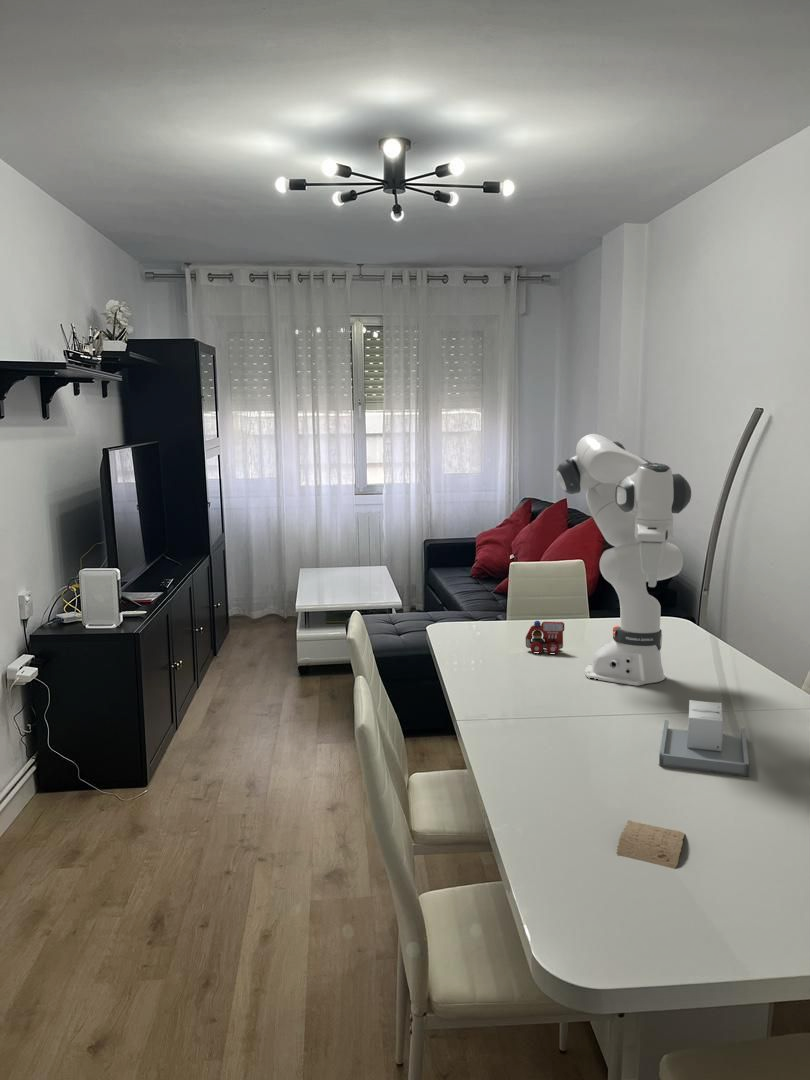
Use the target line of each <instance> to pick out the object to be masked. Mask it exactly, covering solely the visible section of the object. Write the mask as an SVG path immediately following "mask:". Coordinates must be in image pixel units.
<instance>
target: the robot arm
mask: <svg viewBox="0 0 810 1080" xmlns="http://www.w3.org/2000/svg"><path fill="white" fill-rule="evenodd" d="M575 448H576V449H575V453H576V455H574V456H572V457H570V458H567V459H565V460H563V461H562V462H561V463H560V464H558V466H557V468H556V478H557V479H556V480H557V482H558V485H559V486H560V487H561V488H562V489H563V491H564V492H565V493H567V494H569V495H573V494H574V495H575V494H579V493H581V492H582V491H586V490H587V491H586V494H585V501H586V504H587V508H588V510H589V512H590V515H591V516H592V519H593V520H594V523H595V525H596V526H597V528H598V529H599V531H600V532H601V534H602V536H603V538H604V540H605V541H606V542H607V543H608V544H609V545H610V546H613V547H611V548H608V549H606V550H604V551H603V552H602V555H601V557H599V563H598V564H599V571H600V574H601V575H602V577H603V578H604V580H606V581H607V582H608V583H609V584H611V586H612V587H613V588H614V590H615V592H616V594H617V597H618V600H619V608H620V609H619V611H620V615H619V616H620V618H619V619H620V625H614V626H613V627H612V640H610V641H609V642H607V643H606V644H605V645H603V646H602V647H600V648H599V649H597V650H596V652H595V654H594V655H593V660H592V663H590V664H588V665H587V666H586V667H585V670H584V676H585V675H586V676H587V677H588V679H590V678H594V679H593V680H596V679H598V681H603V682H604V681H606V682H609V683H618V684H624V685H629V686H643V685H645V684H646V685H647V684H654V683H658V682H662V681H663V680H665V679H666V678H665V673H664V669H663V663H662V656H661V653H662V652H661V650H662V645H663V635H662V634H663V631H662V628H661V613H662V612H661V611H662V610H661V608H662V607H661V603H660V602H659V600H658V599H657V598H656V597H654V596H653V595H651V594H649V592H648V590H647V589H648V588H647V586H648V587H649V588H655V587H656V586H657V583H658V581H663V580H664V581H665V580H667V579H671V578H673V577H676V576H678V575H679V574H680V572H682V571H681V570H682V569H683V566H684V557H683V553H682V551H681V550H680V548H679V547H678V546H677V545H676V544H674V543H671V542H668V540H669V539H672V538H673V537H674V536H673V534H674V526H673V524H674V516H673V514H680V513H681V512H682V511H683V510H684V509H685V508H686V507H687V506H688V504H690V501H691V499H692V488H691V485H690V483H689V481H688V480H687V479H686V478H685V477H684V476H683V475H682V474H679V473H673V472H672V468H671V467H670V466H669V465H666V464H664V463H658V462H651V461H649V460H647V459H645V458H642V457H641V456H638V455H636V454H633V453H631V452H629V451H628V450H627V449H626V447H624V445H623V444H622V443H620V442H618V441H612V440H611V439H609V438H607V437H605V436H603V435H600V434H597V433H589V434H587V435H585V436H583V437H582V438H580V439H579V441H578V442H577V445H576V446H575ZM647 583H648V585H647ZM586 676H585V677H586ZM587 677H586V678H587Z"/></svg>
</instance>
